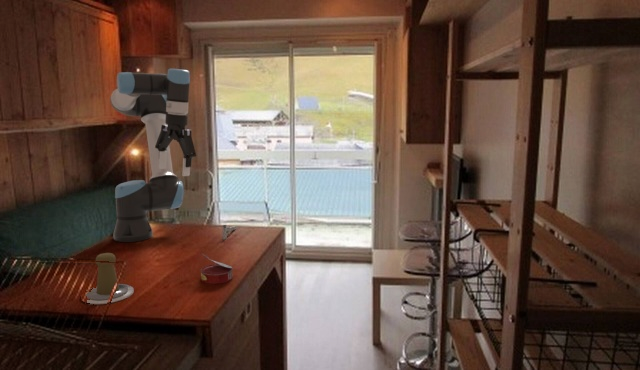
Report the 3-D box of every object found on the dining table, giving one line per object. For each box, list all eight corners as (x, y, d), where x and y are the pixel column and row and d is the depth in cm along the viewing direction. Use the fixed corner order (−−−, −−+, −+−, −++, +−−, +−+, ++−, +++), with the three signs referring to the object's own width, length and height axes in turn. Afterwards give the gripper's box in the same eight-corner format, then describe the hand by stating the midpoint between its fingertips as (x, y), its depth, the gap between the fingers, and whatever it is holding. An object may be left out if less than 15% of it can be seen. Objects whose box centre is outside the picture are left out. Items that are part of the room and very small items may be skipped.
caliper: (225, 240, 190) (224, 225, 189) (222, 240, 191) (222, 225, 190) (237, 228, 211) (237, 214, 210) (235, 228, 211) (234, 214, 210)
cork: (123, 288, 136) (121, 252, 134) (108, 296, 131) (105, 258, 129) (107, 285, 138) (105, 249, 136) (91, 293, 133) (88, 255, 131)
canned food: (206, 288, 152) (206, 258, 155) (236, 285, 151) (235, 255, 154) (194, 284, 141) (194, 251, 144) (227, 281, 141) (227, 248, 144)
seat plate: (71, 295, 133) (71, 292, 133) (118, 282, 144) (118, 278, 144) (94, 309, 125) (94, 305, 124) (143, 293, 135) (142, 290, 135)
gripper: (146, 109, 169) (144, 166, 174) (191, 117, 155) (187, 179, 160) (164, 109, 175) (161, 165, 180) (208, 118, 161) (204, 177, 166)
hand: (174, 172), depth 170 cm, fingers open, 13 cm apart
